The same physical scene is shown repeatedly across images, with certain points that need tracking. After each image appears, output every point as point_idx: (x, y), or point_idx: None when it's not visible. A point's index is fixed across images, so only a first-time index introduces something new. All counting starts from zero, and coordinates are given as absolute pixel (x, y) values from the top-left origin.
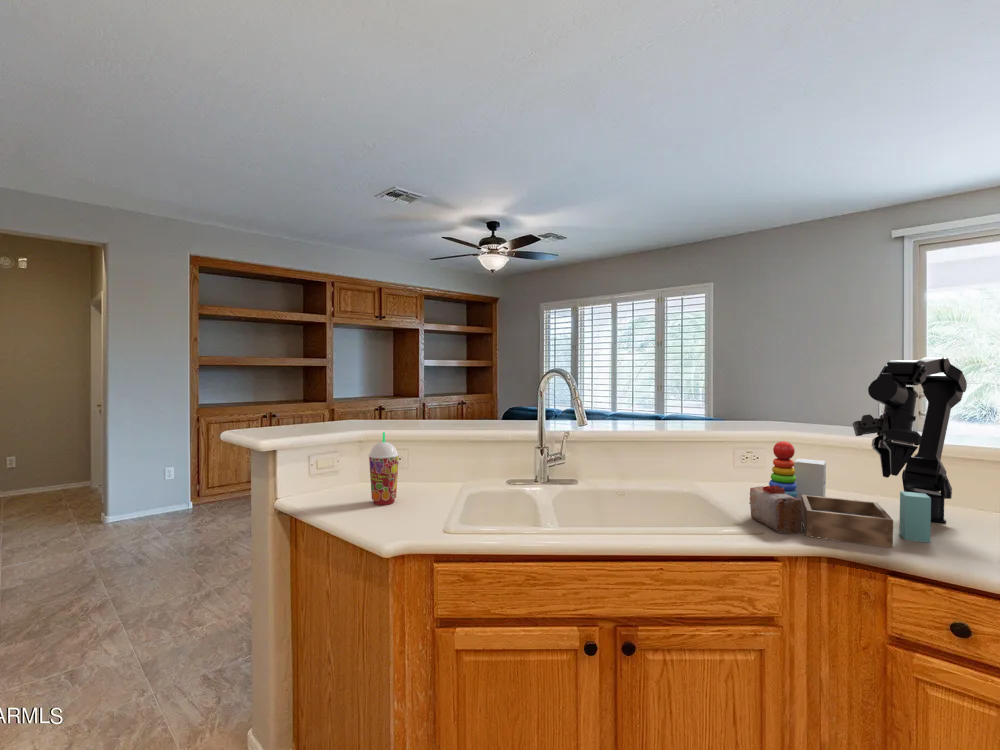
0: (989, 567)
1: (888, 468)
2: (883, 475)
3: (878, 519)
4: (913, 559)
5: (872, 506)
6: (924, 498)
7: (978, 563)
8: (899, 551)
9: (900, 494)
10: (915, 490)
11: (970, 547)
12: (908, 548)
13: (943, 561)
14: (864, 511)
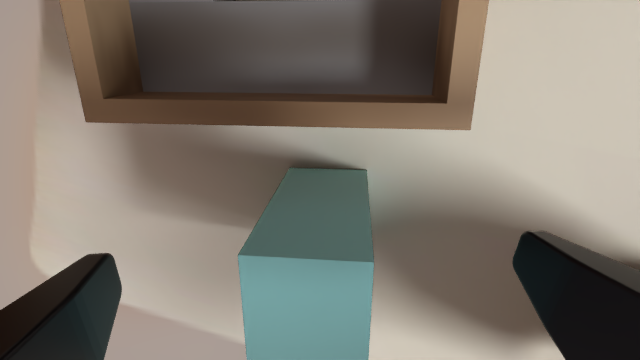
0: (127, 301)
1: (586, 332)
2: (530, 237)
3: (77, 58)
4: (69, 137)
5: (442, 98)
6: (246, 331)
7: (146, 290)
8: None
9: (362, 251)
10: None
11: None
12: (183, 153)
13: (106, 213)
14: (438, 56)
